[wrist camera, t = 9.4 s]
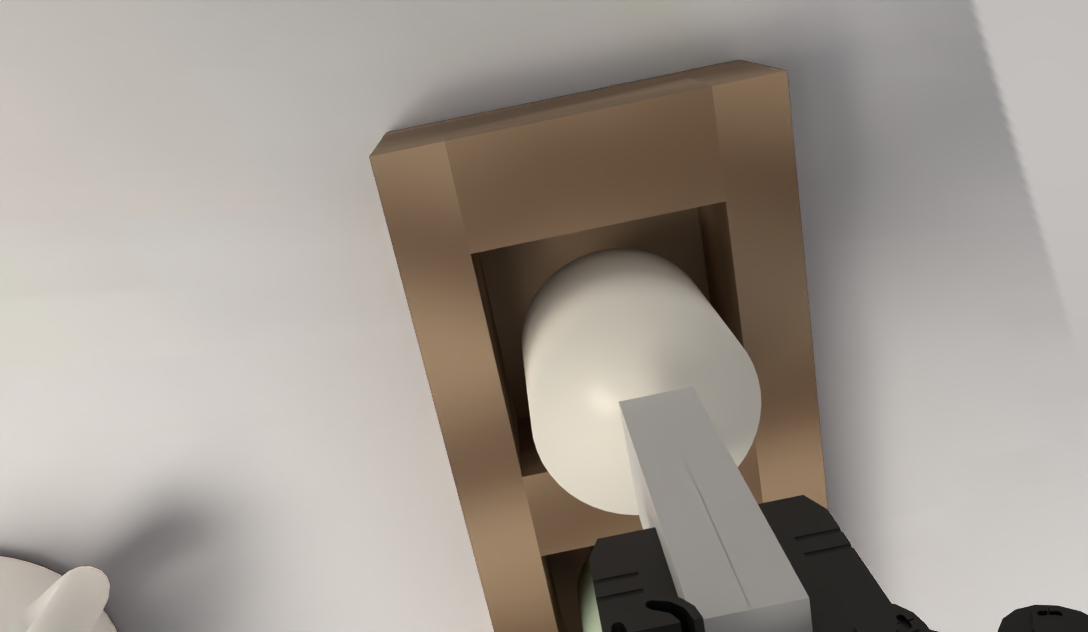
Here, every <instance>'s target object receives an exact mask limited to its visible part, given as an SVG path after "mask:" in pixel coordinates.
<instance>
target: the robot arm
mask: <svg viewBox="0 0 1088 632" xmlns="http://www.w3.org/2000/svg"><path fill="white" fill-rule="evenodd" d="M619 407H620V412H621V418H622V423H623V429H624V434H625V440H626V445H627V451H628V456H629V462H630V467H631V473H632V478H633V484H634V489H635V495H636V500H637V506H638V511H639V517H640V521H641V524H642V527H643V530H638V531H634V532H629V533H624V534H619V535H614V536H609V537H604V538H599V539H597V541H596V543H595V546H594V548H593V550H592V553H591V555H590V558H589V564H590V570H591V575H592V580H593V586H594V591H595V596H596V601H597V607H598V612H599V618H600V623H601V628H602V632H937V631H934V630H930V629H929V628H928V627H927V625H926V624H925V623H924V622H923V621H922V620H921V619H920V618H918V617H917V616H916V615H915V614H914V613H913V612H911V611H909V610H907V609H904V608H902V607H900V606H898V605H896V604H891V602H890V601H889V599H888V598H887V596H886V595H885V594H884V592H883V591H882V589H881V588H880V586H879V585H878V583H877V582H876V580H875V579H874V577H873V576H872V574H871V573H870V572H869V570H868V569H867V567H866V566H865V564H864V563H863V561H862V560H861V558H860V557H859V555H858V554H857V552H856V551H855V550H854V548H852V547H851V544H850V542H849V541H848V539H847V538H846V536H845V535H844V533H843V532H841V531H840V528H839V526H838V525H837V523H836V522H835V520H834V519H833V517H832V516H831V514H830V513H829V511H828V510H827V509H826V508H824V507H823V506H821V505H819V504H818V503H816V502H814V501H813V500H811V499H809V498H808V497H806V496H805V495H800V496H795V497H790V498H785V499H780V500H775V501H770V502H765V503H760V504H757V502H756V500H755V498H754V496H753V495H752V493H751V491H750V489H749V487H748V485H747V484H746V482H745V480H744V478H743V476H742V475H741V473H740V471H739V469H738V467H737V465H736V464H735V462H734V460H733V458H732V456H731V455H730V453H729V451H728V449H727V447H726V445H725V444H724V442H723V440H722V438H721V436H720V435H719V433H718V431H717V429H716V427H715V425H714V424H713V422H712V420H711V418H710V416H709V415H708V413H707V411H706V409H705V407H704V405H703V404H702V402H701V400H700V398H699V396H698V395H697V393H696V391H695V389H694V387H688V388H683V389H678V390H673V391H668V392H663V393H658V394H653V395H649V396H644V397H639V398H634V399H629V400H624V401H619ZM998 632H1088V615H1087V614H1085V613H1083V612H1081V611H1077V610H1073V609H1069V608H1065V607H1061V606H1052V605H1033V606H1029V607H1024V608H1020V609H1016V610H1015V611H1013V612H1012V613H1010V614H1009V615H1007V616H1006V617H1004V618H1003V620H1002V622H1001V624H1000V627H999V629H998Z"/></svg>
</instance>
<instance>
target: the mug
mask: <svg viewBox="0 0 1088 632" xmlns="http://www.w3.org/2000/svg"><path fill="white" fill-rule="evenodd" d="M109 591H110V583H109V581H108V578H107V576H106V575H105V574H104V573H103V572H102V571H101V570H99V569H96V568H94V567H91V566H80V567H77V568H75V569H72V570H70V571H68V572H67V573H66V574H64V575H63V576H62V575H60V574H58V573H56V572H54V571H51V570H49V569H47V568H45V567H42V566H39V565H36V564H33V563H31V562H27V561H23V560H19V559H15V558H9V557H2V556H0V632H117V631H116V629H115V627H114V625H113V623H112V622H111V620H110V618H109V617H108V615H107V614H106V613H105V612H104V610H103V609H104V607H105V605H106V603H107V600H108V598H109Z"/></svg>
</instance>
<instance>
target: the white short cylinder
mask: <svg viewBox="0 0 1088 632" xmlns="http://www.w3.org/2000/svg"><path fill="white" fill-rule="evenodd" d="M522 354H523V362H524V370H525V379H526V387H527V395H528V403H529V412H530V420H531V427H532V434H533V440H534V443H535V446H536V450H537V452H538V454H539V457H540V459H541V461H542V463H543V465H544V466H545V468H546V469H547V471H548V472H549V474H550V475H551V476H552V477H553V478H554V480H555V481H556V482H557V483H558V484H559V485H560V486H561V487H562V488H564V489H565V490H566V491H567V492H568V493H569V494H571V495H572V496H574V497H576V498H577V499H579V500H580V501H582V502H584V503H586V504H588V505H590V506H593V507H595V508H598V509H601V510H604V511H608V512H613V513H618V514H626V515H639V511H638V506H637V500H636V495H635V489H634V484H633V478H632V473H631V467H630V462H629V456H628V451H627V445H626V440H625V434H624V429H623V423H622V418H621V412H620V407H619V401H624V400H629V399H634V398H639V397H644V396H649V395H653V394H658V393H663V392H668V391H673V390H678V389H683V388H688V387H694V389H695V391H696V393H697V395H698V396H699V398H700V400H701V402H702V404H703V405H704V407H705V409H706V411H707V413H708V415H709V416H710V418H711V420H712V422H713V424H714V425H715V427H716V429H717V431H718V433H719V435H720V436H721V438H722V440H723V442H724V444H725V445H726V447H727V449H728V451H729V453H730V455H731V456H732V458H733V460H734V462H735V464H736V465H737V467H738V466H739V465H740V464H741V462H742V461H743V459H744V458H745V456H746V455H747V453H748V451H749V449H750V447H751V445H752V443H753V440H754V438H755V435H756V433H757V429H758V425H759V421H760V413H761V390H760V385H759V380H758V376H757V373H756V370H755V368H754V365H753V363H752V361H751V359H750V357H749V355H748V354H747V352H746V351H745V349H744V348H743V347H742V345H741V344H740V342H739V341H738V340H737V339H736V337H735V336H734V335H733V333H732V332H731V331H730V329H729V328H728V327H727V325H726V324H725V323H724V321H723V320H722V319H721V317H720V316H719V315H718V313H717V312H716V311H715V310H714V308H713V307H712V306H711V304H710V303H709V302H708V300H707V299H706V298H705V296H704V295H703V294H702V292H701V291H700V290H699V288H698V287H697V286H696V285H695V283H694V282H693V281H692V279H691V278H690V277H689V276H688V275H687V274H686V273H685V272H684V271H683V270H682V269H680V268H679V267H678V266H676V265H675V264H674V263H672V262H670V261H668V260H667V259H665V258H663V257H661V256H658V255H656V254H653V253H650V252H646V251H642V250H637V249H629V248H613V249H606V250H600V251H596V252H593V253H589V254H586V255H584V256H581V257H579V258H577V259H575V260H573V261H571V262H569V263H568V264H566V265H564V266H563V267H562V268H560V269H559V270H558V271H556V272H555V273H554V274H553V275H552V276H551V277H550V278H549V279H548V280H547V281H546V282H545V283H544V284H543V286H542V287H541V288H540V289H539V291H538V292H537V294H536V295H535V297H534V299H533V300H532V302H531V304H530V306H529V309H528V311H527V314H526V317H525V321H524V324H523V331H522Z"/></svg>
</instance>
